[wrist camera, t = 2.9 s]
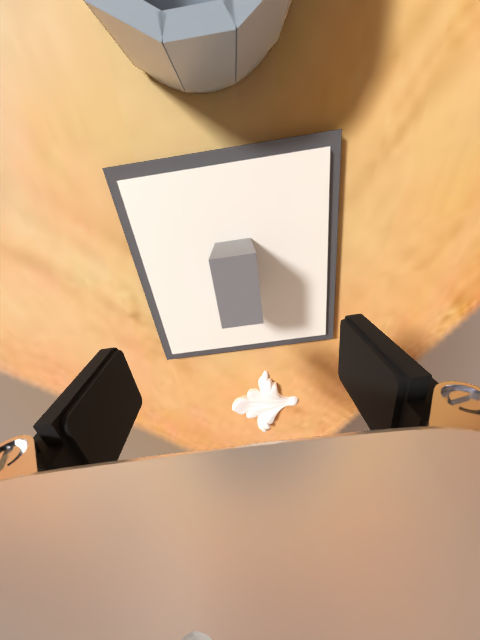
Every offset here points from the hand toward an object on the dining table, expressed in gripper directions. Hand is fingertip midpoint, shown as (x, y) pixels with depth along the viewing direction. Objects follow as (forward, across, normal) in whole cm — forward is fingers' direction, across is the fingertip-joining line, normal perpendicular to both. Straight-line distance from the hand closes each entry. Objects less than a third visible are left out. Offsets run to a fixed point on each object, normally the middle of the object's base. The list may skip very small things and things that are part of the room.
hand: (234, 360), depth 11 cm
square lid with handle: (+13, 0, -1) cm, 13 cm away
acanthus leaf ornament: (+16, -2, +17) cm, 23 cm away
